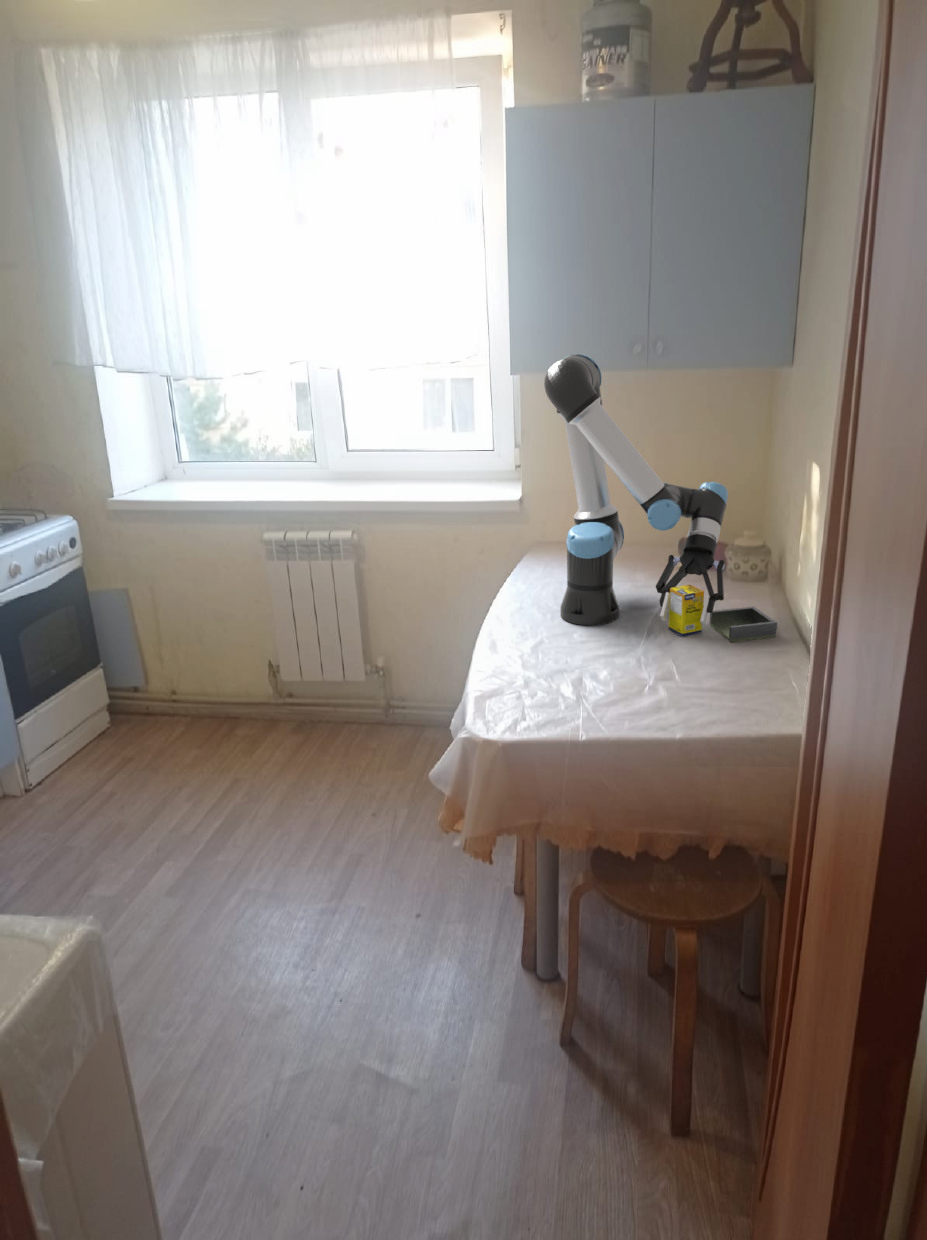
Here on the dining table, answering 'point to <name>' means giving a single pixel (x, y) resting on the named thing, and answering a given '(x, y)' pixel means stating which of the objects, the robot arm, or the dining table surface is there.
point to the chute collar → (743, 624)
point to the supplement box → (685, 610)
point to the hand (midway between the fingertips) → (682, 620)
